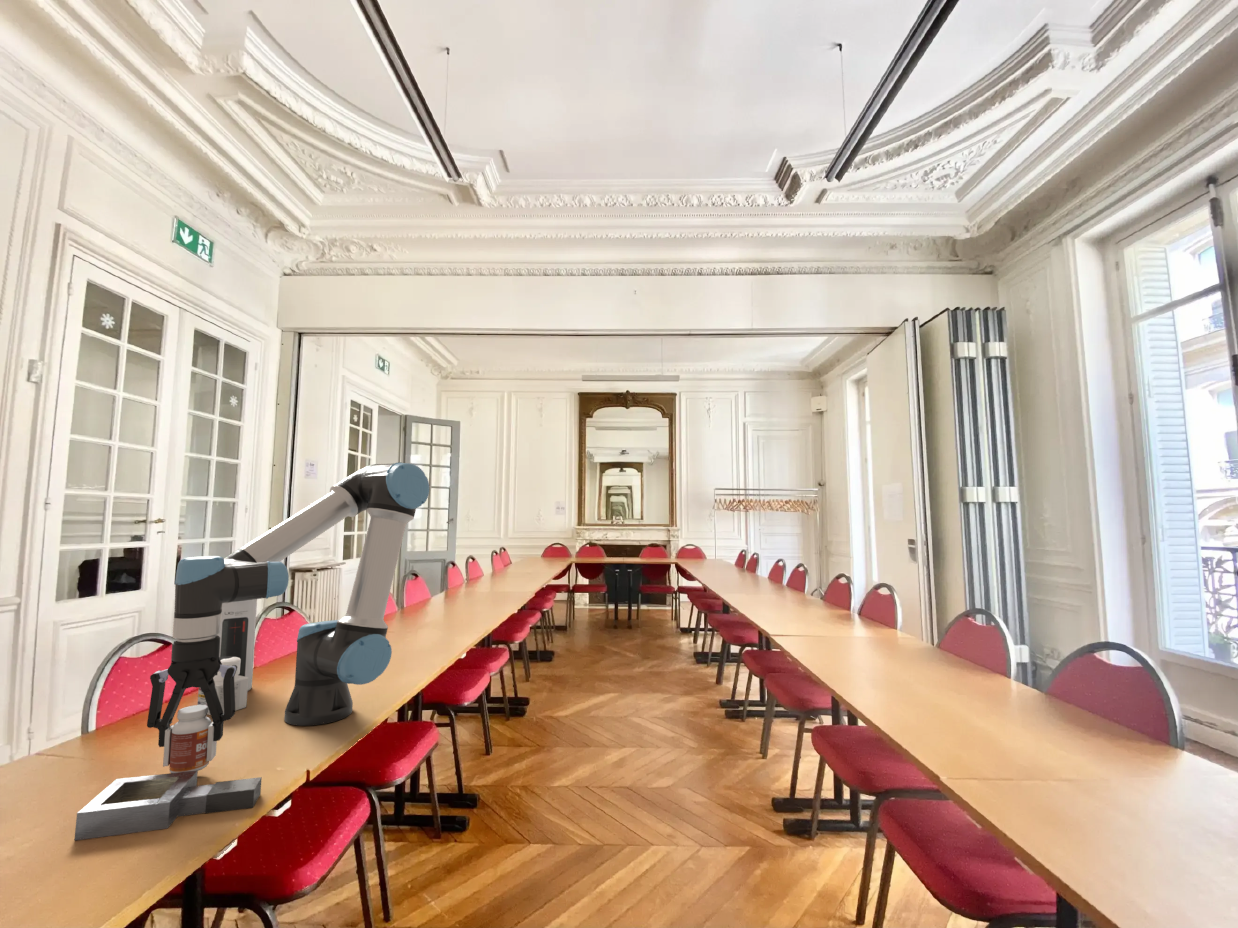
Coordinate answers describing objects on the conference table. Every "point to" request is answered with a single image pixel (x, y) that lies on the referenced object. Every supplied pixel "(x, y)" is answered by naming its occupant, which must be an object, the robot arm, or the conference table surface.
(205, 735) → the pill bottle
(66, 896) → the conference table surface
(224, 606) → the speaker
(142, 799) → the grey square pan
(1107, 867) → the conference table surface
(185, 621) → the robot arm
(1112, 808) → the conference table surface
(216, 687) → the container
